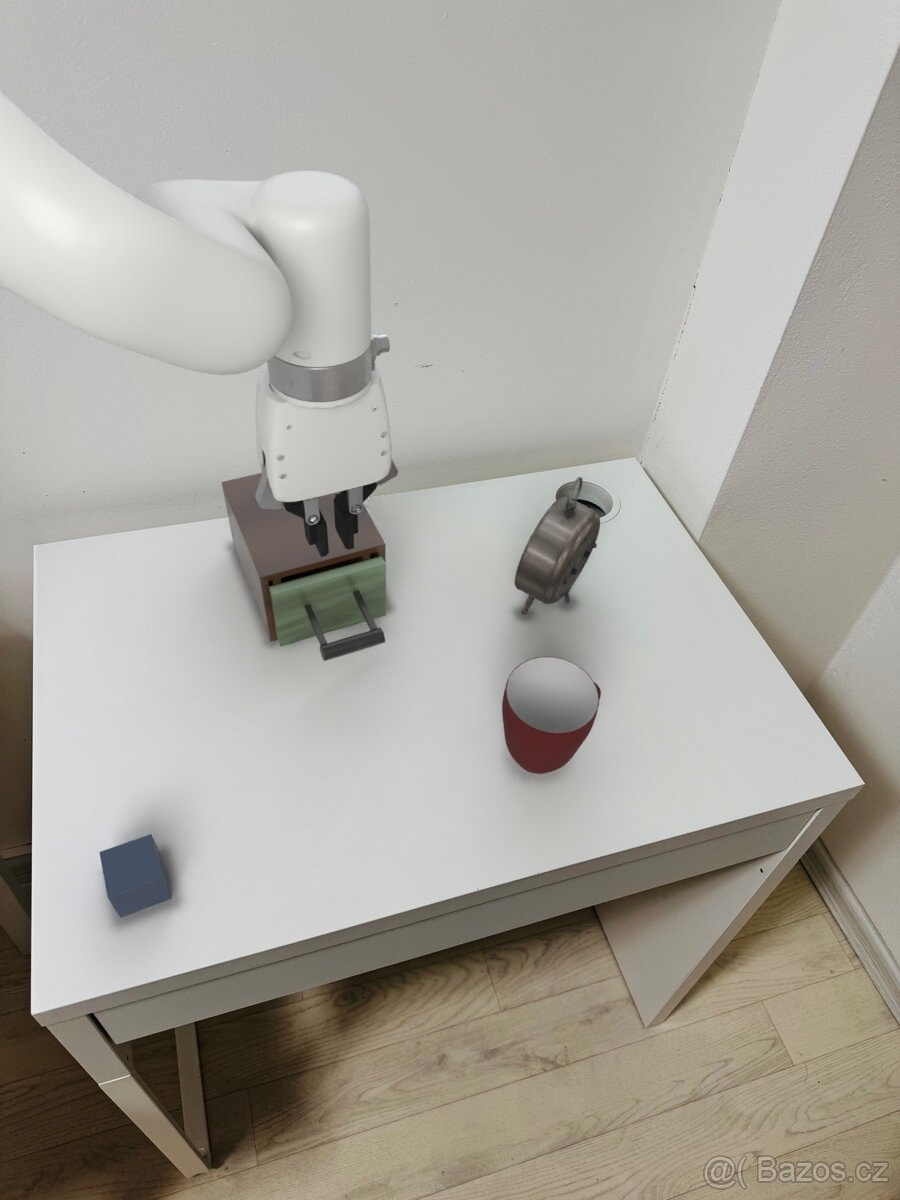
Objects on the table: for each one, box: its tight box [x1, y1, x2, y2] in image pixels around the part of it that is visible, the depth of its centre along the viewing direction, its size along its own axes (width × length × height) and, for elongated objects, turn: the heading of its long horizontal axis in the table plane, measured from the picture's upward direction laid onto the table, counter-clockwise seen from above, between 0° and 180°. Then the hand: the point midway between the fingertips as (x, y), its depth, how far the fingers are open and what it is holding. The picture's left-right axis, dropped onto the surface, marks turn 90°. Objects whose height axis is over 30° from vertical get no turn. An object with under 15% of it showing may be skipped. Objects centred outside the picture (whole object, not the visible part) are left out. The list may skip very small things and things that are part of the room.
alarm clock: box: [514, 476, 601, 616], centre depth 86 cm, size 11×5×16 cm, turn 147°
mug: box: [501, 656, 602, 775], centre depth 75 cm, size 10×8×10 cm
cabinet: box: [221, 472, 386, 642], centre depth 88 cm, size 15×13×10 cm
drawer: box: [269, 554, 387, 662], centre depth 85 cm, size 20×11×8 cm, turn 24°
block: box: [99, 833, 172, 918], centre depth 67 cm, size 4×4×4 cm
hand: (332, 541), depth 74 cm, fingers closed
